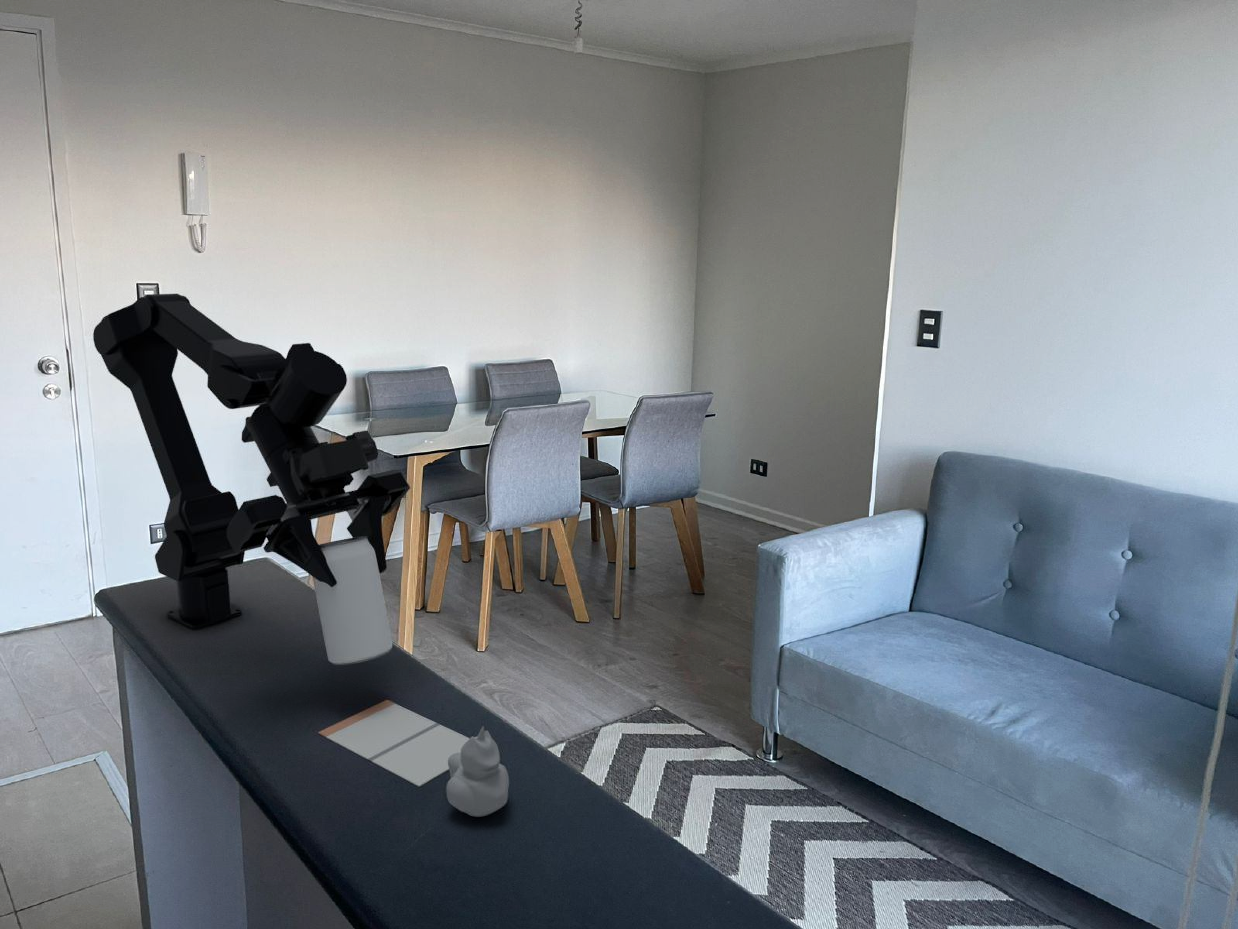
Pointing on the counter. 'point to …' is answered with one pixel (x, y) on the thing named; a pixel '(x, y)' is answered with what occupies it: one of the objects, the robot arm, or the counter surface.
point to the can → (353, 603)
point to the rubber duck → (477, 777)
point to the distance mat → (398, 741)
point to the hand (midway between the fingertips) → (359, 578)
